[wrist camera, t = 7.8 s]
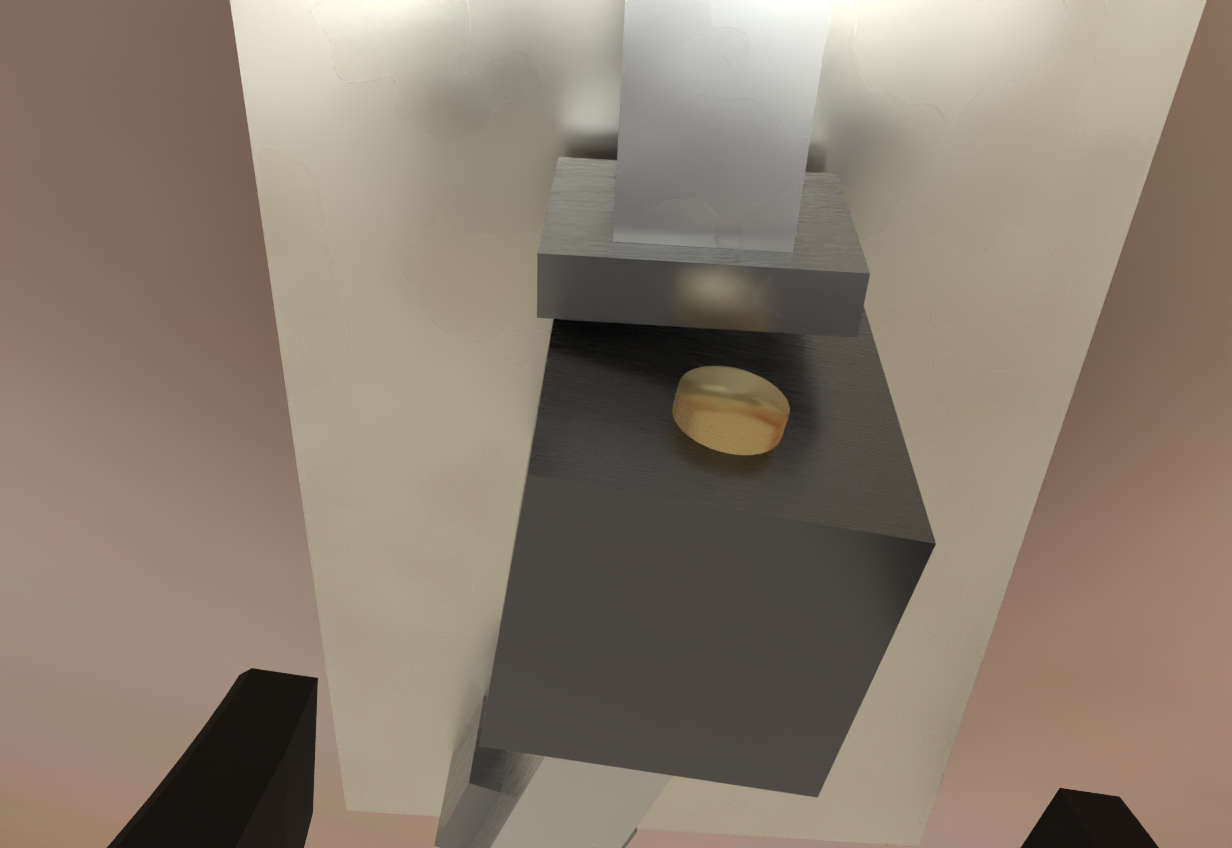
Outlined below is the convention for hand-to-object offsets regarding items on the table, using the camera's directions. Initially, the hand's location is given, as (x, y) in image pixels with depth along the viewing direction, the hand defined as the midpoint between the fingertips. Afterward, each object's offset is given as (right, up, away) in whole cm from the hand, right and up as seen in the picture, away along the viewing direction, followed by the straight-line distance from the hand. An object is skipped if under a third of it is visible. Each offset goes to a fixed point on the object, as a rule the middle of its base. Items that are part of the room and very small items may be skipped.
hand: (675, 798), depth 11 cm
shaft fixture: (0, +5, +7) cm, 9 cm away
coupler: (0, +5, +6) cm, 7 cm away
